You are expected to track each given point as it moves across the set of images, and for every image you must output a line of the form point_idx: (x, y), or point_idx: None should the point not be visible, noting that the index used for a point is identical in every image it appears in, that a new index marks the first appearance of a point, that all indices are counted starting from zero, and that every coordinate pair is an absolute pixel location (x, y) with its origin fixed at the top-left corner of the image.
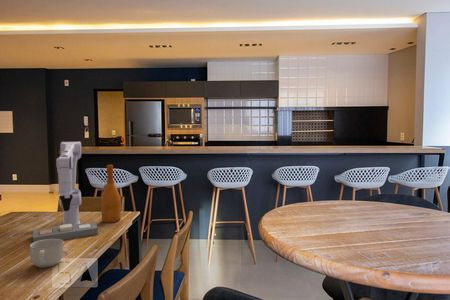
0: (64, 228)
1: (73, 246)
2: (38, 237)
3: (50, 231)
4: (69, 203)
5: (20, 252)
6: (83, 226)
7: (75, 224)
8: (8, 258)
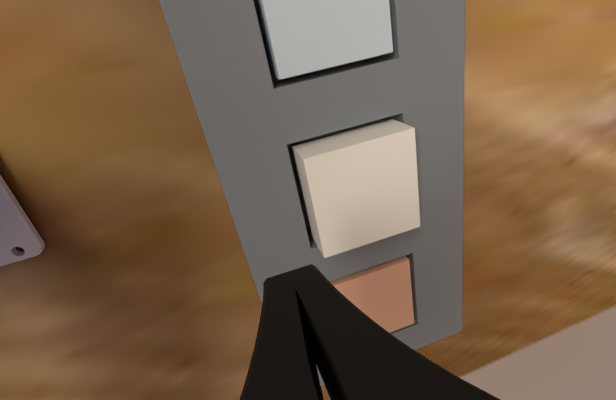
0: (413, 190)
1: (590, 68)
2: (461, 307)
3: (379, 280)
4: (411, 358)
5: (512, 312)
6: (340, 9)
7: (216, 118)
8: (553, 325)
